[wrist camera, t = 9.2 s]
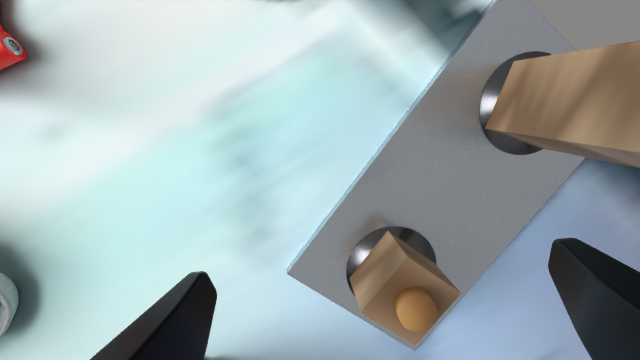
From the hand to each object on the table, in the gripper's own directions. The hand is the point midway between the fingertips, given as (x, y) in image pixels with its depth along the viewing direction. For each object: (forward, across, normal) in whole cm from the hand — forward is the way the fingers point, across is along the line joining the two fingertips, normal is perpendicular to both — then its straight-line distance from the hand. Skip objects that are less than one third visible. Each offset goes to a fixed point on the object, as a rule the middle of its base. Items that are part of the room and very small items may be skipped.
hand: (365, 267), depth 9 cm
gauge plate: (+12, -5, +6) cm, 14 cm away
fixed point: (+9, -1, +10) cm, 14 cm away
